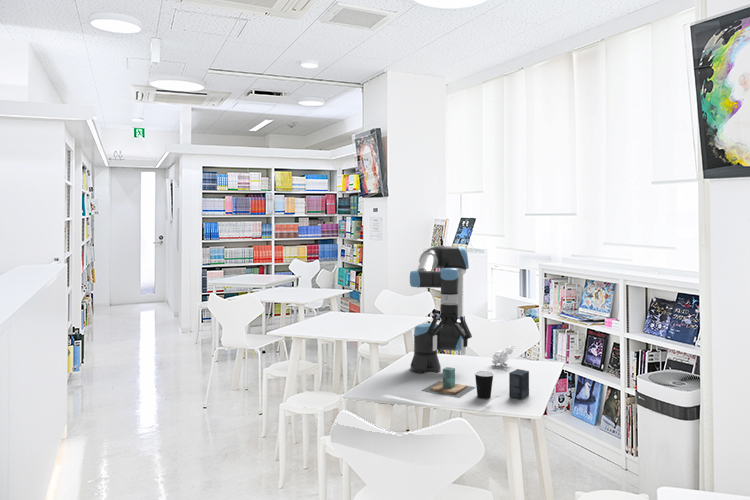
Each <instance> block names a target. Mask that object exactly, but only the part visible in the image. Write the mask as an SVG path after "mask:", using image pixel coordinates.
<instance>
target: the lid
mask: <svg viewBox="0 0 750 500" xmlns="http://www.w3.org/2000/svg"><path fill="white" fill-rule="evenodd" d="M441 381H442V382H440V383H438V384H436V385H435V386H433V387H431V388H430V390H432V391H437V392H443V393H448V394H454V395H456V394H458V393H459V392H461V391H463V390H464V389H466V388H467V386H468V385H466V384H462V383H461V384H459V383H456V368H455V367H448V366H446V367H444V368H442V380H441Z"/></svg>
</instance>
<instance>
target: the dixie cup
mask: <svg viewBox="0 0 750 500" xmlns="http://www.w3.org/2000/svg"><path fill="white" fill-rule="evenodd" d="M494 375H495V374H494V372H492V371H489V370H477V371H474V376H475V387H476V395H477V398H479V399H482V400H487V399H490V398H491V395H492V389H493V388H492V387H493V380H494Z"/></svg>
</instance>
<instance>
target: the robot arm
mask: <svg viewBox="0 0 750 500" xmlns="http://www.w3.org/2000/svg"><path fill="white" fill-rule="evenodd" d="M418 262H419V265H418V268H416V269H417V270H412V271H410V272H409V286H410V287H412V288H418V289H419V288H428V289H429V288H430V289H431V288H434V289H435V288H437V289H439V288H440V303H441V304H440V308H439V309H440V313H436V312H435V313H433V319H432V321H431V322H426V323H421V324H417V325H415V327H414V331H413V346H414V347H413V356H412V358H411V359H412V360H411V362H410V371H412V372H414V373H417V374H425V373H439V372H441V362H440V360H439V357H438V351H454V352H456V351H457V352H458V351H459V352H461V353H460V354H461V356H464V355H465V354H466V347H468V342H469V341H468V339H471V338H472V337H473V335H472V333H471V331H470V328H469V327H468V324H467V322H466V316H465V315H463V301H464V300H463V299H464V298H463V292H464V291H463V288H464V286H463V285H464V284H463V283H464V282H463V281H464V278H463V277H464V275H465V274H466V272H467V270H468V269H469V266H470V265H469V259H468V251H467V247H465V246H458V245H455V246H454V245H453V246H448V245H447V246H440V245H439V246H438V245H437V246H433V247H430V248H428V249H426V250H425V251H423V252H422V253H421V254H420V257H419V261H418ZM435 269H441V270H440V271H439V270H438V271H437V270H435ZM439 319H440V322H439V323H437V322H438V320H439Z"/></svg>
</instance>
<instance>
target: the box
mask: <svg viewBox="0 0 750 500" xmlns="http://www.w3.org/2000/svg"><path fill="white" fill-rule="evenodd" d="M508 381H509V383H508V384H509V387H508V388H509V389H508V390H509V392H508V393H509V394H508V395H509V398H511V399H515V400H516V399H517V400H523V399H525V398H527V397H528V396H530V370H527V369H526V370H525V369H519V368H516V369H515V370H513V371H511V372H509V379H508Z"/></svg>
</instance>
